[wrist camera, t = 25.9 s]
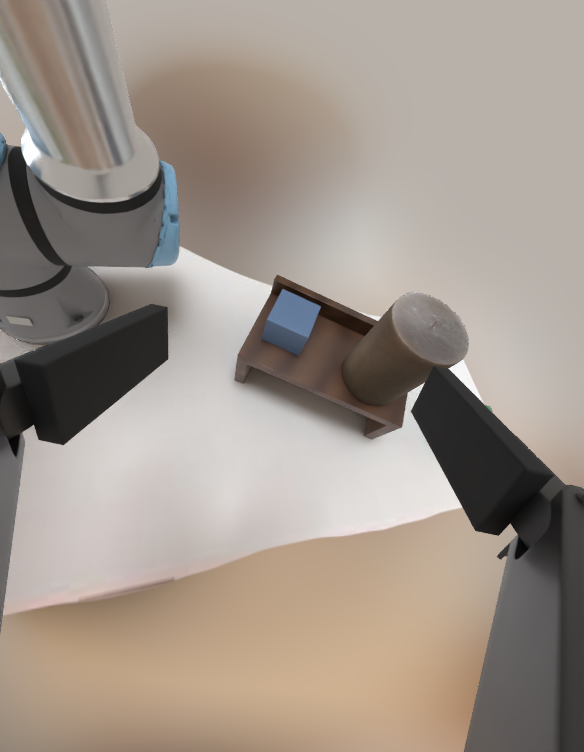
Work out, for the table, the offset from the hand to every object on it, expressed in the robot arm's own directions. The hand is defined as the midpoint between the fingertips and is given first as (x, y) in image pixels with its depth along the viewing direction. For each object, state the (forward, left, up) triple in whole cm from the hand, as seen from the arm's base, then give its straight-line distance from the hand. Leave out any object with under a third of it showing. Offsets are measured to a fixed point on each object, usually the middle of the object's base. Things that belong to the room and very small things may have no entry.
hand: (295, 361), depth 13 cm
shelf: (-12, +14, -32) cm, 37 cm away
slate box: (-16, +8, -23) cm, 29 cm away
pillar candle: (-8, +20, -23) cm, 31 cm away
